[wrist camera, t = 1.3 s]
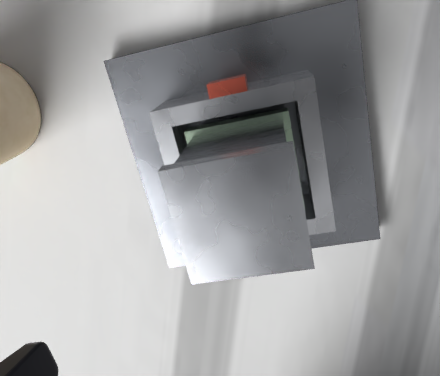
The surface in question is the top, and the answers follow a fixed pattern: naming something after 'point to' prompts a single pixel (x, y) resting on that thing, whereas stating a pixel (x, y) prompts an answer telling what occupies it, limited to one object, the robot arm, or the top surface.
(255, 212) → the column
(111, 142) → the top surface
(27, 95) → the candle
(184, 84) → the stand base
